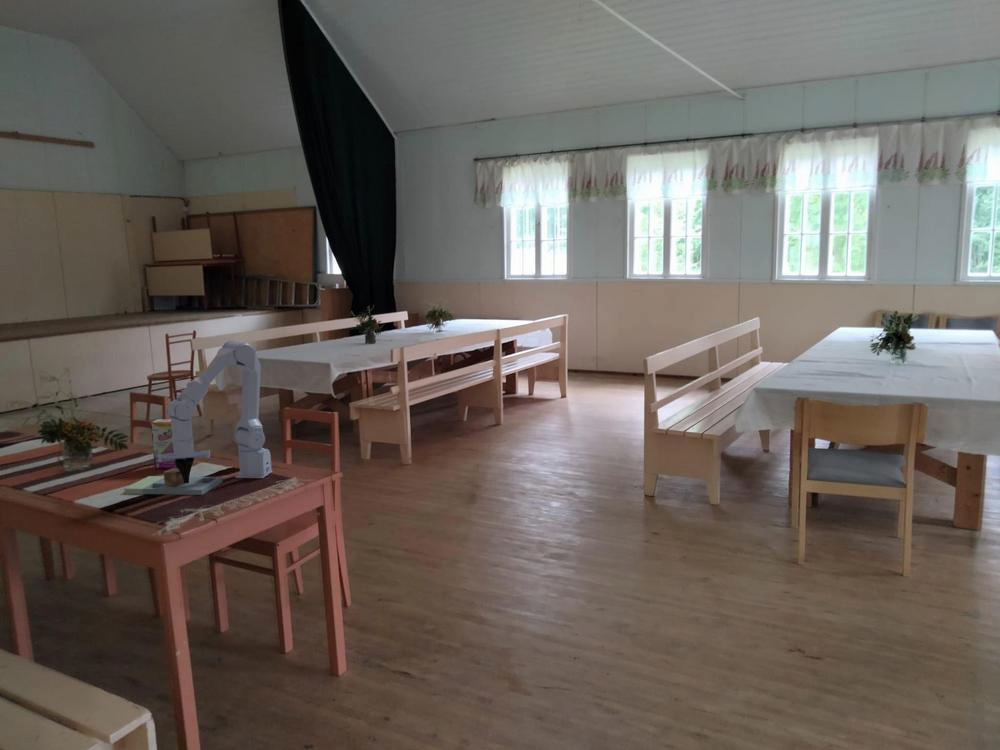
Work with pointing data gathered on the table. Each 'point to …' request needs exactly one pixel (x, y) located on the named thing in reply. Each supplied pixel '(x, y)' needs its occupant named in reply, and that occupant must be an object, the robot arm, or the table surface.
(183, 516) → the table surface
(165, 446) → the candy bar box
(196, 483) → the board
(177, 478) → the walnut block
